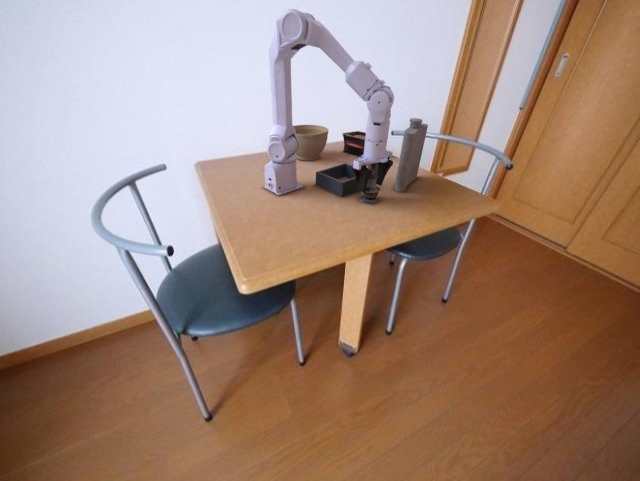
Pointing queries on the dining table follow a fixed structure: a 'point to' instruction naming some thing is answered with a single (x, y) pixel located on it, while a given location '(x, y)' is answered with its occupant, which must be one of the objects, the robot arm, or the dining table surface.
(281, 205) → the dining table surface
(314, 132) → the planter bowl
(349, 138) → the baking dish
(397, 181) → the hip flask
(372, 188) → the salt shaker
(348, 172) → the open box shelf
